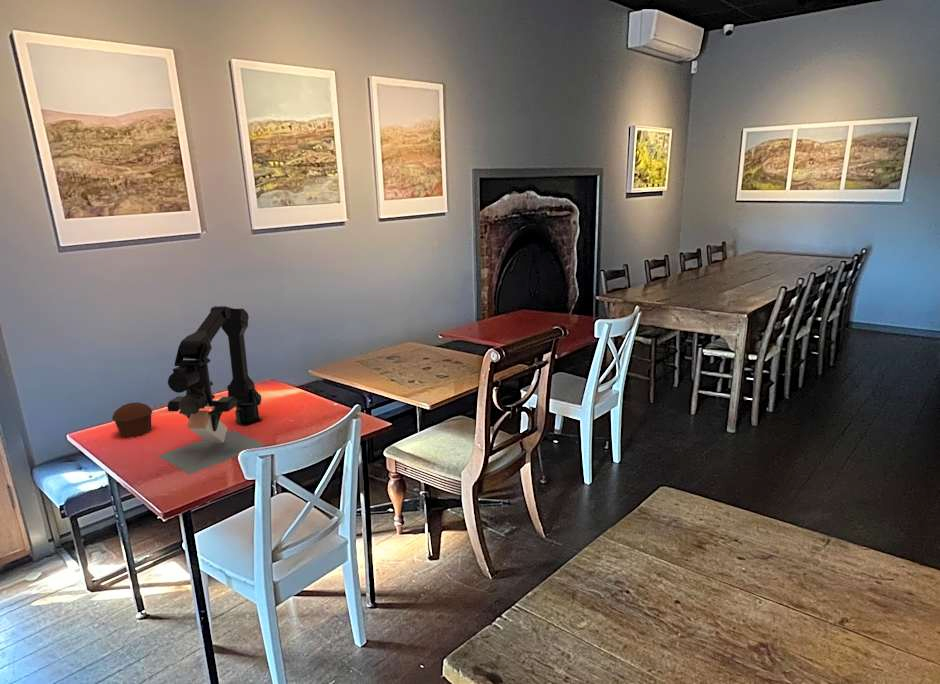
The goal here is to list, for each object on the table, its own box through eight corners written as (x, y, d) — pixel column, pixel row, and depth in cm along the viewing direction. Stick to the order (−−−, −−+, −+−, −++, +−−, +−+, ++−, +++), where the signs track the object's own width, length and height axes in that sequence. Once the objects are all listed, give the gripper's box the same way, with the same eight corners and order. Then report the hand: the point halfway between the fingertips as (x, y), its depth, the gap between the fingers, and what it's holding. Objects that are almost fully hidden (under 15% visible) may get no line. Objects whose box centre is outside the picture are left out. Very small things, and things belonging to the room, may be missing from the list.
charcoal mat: (232, 431, 192) (232, 430, 192) (266, 446, 180) (266, 444, 180) (157, 456, 174) (157, 455, 174) (189, 475, 162) (189, 474, 162)
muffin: (149, 423, 201) (144, 396, 198) (160, 431, 193) (156, 403, 191) (110, 434, 192) (105, 405, 190) (121, 443, 185) (115, 413, 182)
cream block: (212, 427, 181) (191, 410, 170) (227, 427, 181) (208, 410, 170) (207, 442, 179) (186, 426, 168) (223, 442, 178) (203, 426, 167)
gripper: (151, 390, 163) (160, 441, 166) (215, 390, 161) (222, 442, 165) (174, 377, 173) (182, 426, 177) (234, 378, 172) (241, 427, 175)
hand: (206, 430), depth 173 cm, fingers closed on cream block, 5 cm apart
